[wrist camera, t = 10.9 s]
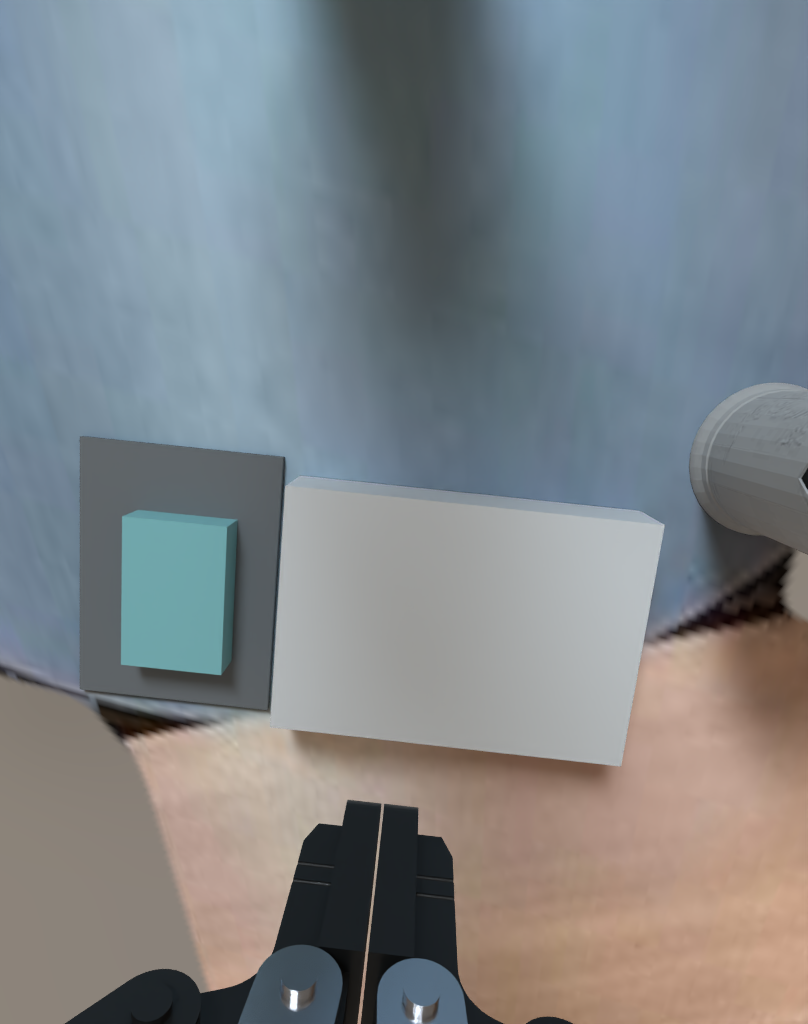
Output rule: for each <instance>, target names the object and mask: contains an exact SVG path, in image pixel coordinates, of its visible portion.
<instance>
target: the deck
mask: <svg viewBox="0 0 808 1024" xmlns="http://www.w3.org/2000/svg"><path fill="white" fill-rule="evenodd" d="M664 526H665V525H664V524H662V523H660V522H658V521H657V520H655V519H653V518H651V517H650V516H648V515H646V514H645V513H643V512H641V511H637V510H627V509H617V508H608V507H598V506H589V505H579V504H569V503H560V502H550V501H540V500H531V499H521V498H511V497H502V496H492V495H483V494H473V493H463V492H454V491H444V490H434V489H425V488H415V487H406V486H396V485H386V484H377V483H367V482H357V481H348V480H338V479H328V478H319V477H309V476H299V477H298V478H296V479H295V480H293V481H292V482H290V483H289V484H287V485H286V486H285V498H284V514H283V530H282V546H281V561H280V577H279V593H278V608H277V624H276V640H275V656H274V671H273V687H272V703H271V719H270V727H273V728H282V729H291V730H300V731H309V732H318V733H327V734H336V735H344V736H353V737H362V738H371V739H380V740H389V741H398V742H407V743H416V744H425V745H434V746H443V747H451V748H460V749H469V750H478V751H487V752H496V753H505V754H514V755H523V756H532V757H541V758H550V759H559V760H567V761H576V762H585V763H594V764H603V765H612V766H621V763H622V758H623V752H624V747H625V741H626V736H627V730H628V725H629V719H630V714H631V708H632V703H633V697H634V692H635V686H636V681H637V675H638V670H639V664H640V659H641V653H642V648H643V642H644V637H645V631H646V625H647V620H648V614H649V609H650V603H651V598H652V592H653V587H654V581H655V576H656V570H657V565H658V559H659V554H660V548H661V543H662V537H663V532H664Z"/></svg>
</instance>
